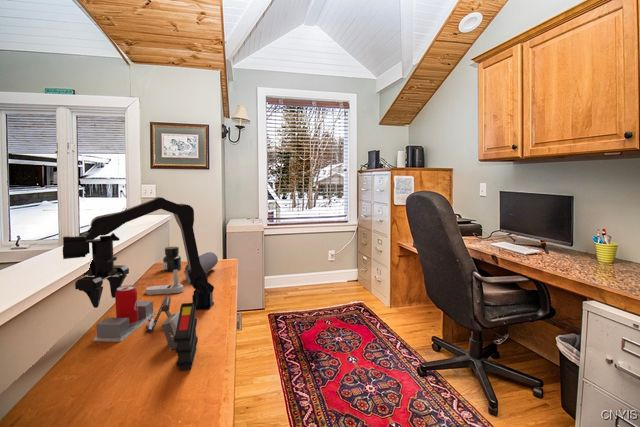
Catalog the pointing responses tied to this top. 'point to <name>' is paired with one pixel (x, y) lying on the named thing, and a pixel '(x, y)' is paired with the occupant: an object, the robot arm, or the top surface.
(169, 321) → the electrical switch
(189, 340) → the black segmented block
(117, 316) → the beverage can
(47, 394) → the top surface
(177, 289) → the electronic device
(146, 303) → the mounted modules
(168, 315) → the portable electronic device stand
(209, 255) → the bluetooth speaker
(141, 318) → the rail
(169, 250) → the ink bottle
